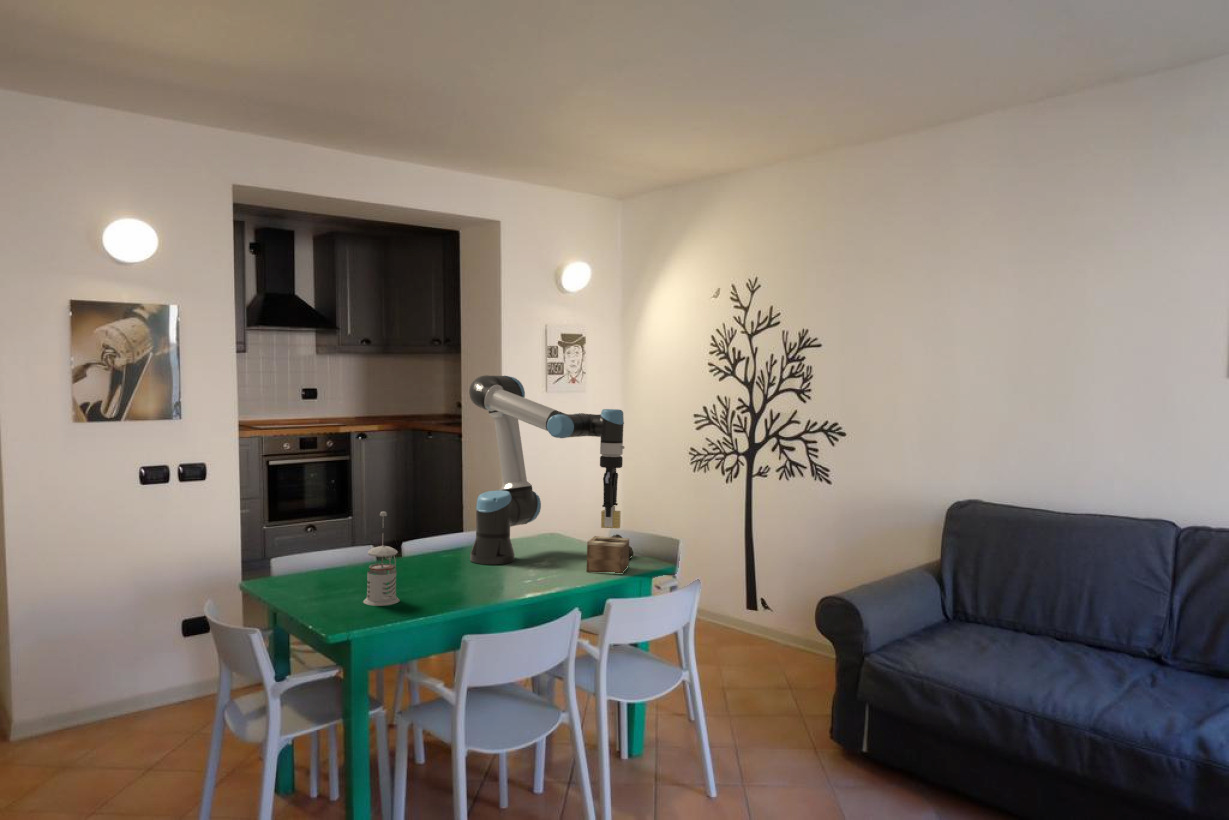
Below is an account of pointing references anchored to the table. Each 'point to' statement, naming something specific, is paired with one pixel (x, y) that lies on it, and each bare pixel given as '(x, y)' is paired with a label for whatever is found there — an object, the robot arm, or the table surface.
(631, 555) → the fossil
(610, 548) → the coin box
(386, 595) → the french press
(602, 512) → the yellow flat block
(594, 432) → the robot arm
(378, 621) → the table surface
